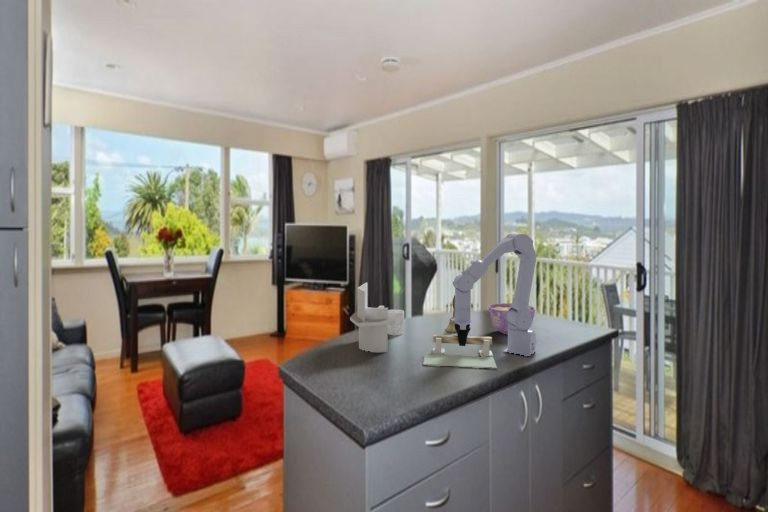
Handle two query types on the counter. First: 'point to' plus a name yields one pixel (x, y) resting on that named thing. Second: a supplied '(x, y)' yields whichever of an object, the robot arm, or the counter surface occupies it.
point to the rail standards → (483, 352)
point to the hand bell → (452, 324)
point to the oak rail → (454, 339)
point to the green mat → (458, 361)
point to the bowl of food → (503, 316)
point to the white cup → (398, 326)
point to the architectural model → (371, 323)
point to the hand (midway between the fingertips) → (462, 344)
